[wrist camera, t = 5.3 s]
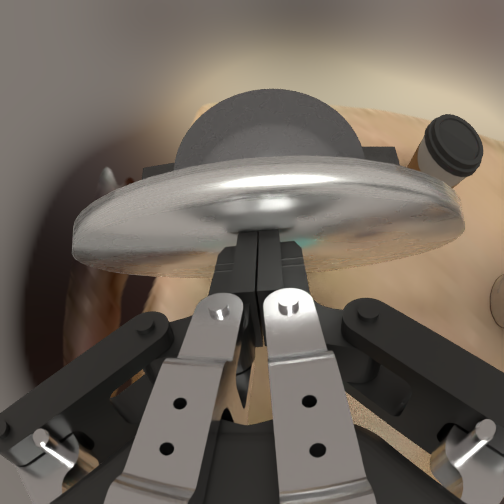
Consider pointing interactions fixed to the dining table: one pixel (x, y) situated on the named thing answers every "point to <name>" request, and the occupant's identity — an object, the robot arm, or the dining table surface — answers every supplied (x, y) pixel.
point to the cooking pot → (269, 132)
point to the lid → (268, 215)
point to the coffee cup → (448, 150)
